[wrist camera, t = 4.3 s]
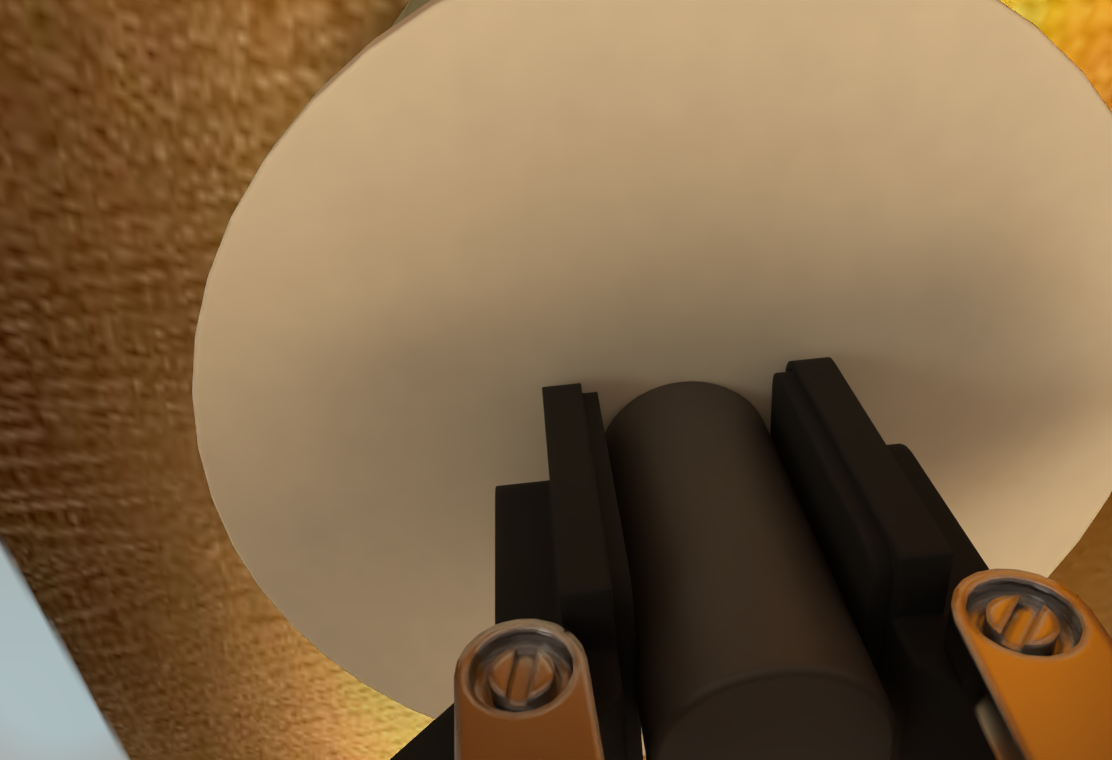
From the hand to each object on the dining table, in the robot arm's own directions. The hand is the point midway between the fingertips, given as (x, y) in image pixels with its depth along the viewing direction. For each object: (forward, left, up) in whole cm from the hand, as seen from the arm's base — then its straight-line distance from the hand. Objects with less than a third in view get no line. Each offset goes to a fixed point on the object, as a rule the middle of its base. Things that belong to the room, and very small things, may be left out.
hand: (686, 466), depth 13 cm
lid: (0, 0, -1) cm, 1 cm away
